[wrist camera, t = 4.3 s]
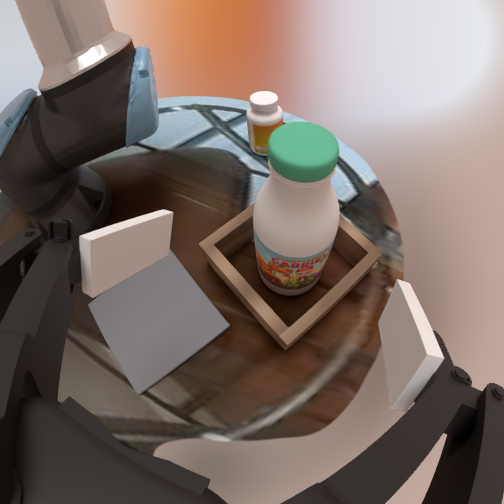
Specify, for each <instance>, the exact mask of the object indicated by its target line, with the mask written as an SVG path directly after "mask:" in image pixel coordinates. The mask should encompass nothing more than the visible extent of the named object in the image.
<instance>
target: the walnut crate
mask: <svg viewBox="0 0 504 504" xmlns="http://www.w3.org/2000/svg"><path fill="white" fill-rule="evenodd" d="M254 204H255V203H254ZM254 204H253V205H251V206H250V207H249V208H247V209H246V210H244V211H243V212H242V213H240V214H239V215H237V216H236V217H235V218H233V219H232V220H230V221H229V222H228V223H226V224H225V225H224V226H222V227H221V228H219V229H218V230H217V231H215V232H214V233H213V234H211V235H210V236H209V237H207V238H206V239H204V240H203V241H202V242H200V243H199V245H200V247H201V249H202V251H203V254H204V256H205V258H206V260H207V262H208V263H209V264H210V266H211V267H212V268H213V269H214V270H215V272H216V273H217V274H218V275H219V276H220V277H221V279H222V280H223V281H224V282H225V283H226V285H227V286H228V287H229V288H230V289H231V290H232V292H233V293H234V294H235V295H236V296H237V297H238V299H239V300H240V301H241V302H242V303H243V304H244V305H245V307H246V308H247V309H248V310H249V311H250V312H251V313H252V315H253V316H254V317H255V318H256V319H257V320H258V321H259V323H260V324H261V325H262V326H263V327H264V328H265V329H266V330H267V332H268V333H269V334H270V335H271V336H272V337H273V338H274V339H275V340H276V342H277V343H278V344H279V345H280V346H281V347H282V348H283V349H284V350H285V351H286V350H287V349H288V348H289V347H290V346H291V345H293V344H294V343H295V342H296V341H297V340H298V339H299V338H301V337H302V336H303V335H304V334H305V333H306V332H307V331H308V330H309V329H311V328H312V327H313V326H314V325H315V324H316V323H317V322H318V321H319V320H320V319H321V318H322V317H324V316H325V315H326V314H327V313H328V312H329V311H330V310H331V309H332V308H333V307H334V306H335V305H336V304H337V303H338V302H339V301H340V300H341V299H342V298H343V297H344V296H345V295H346V294H347V293H348V292H349V291H350V290H351V289H352V288H353V287H354V286H355V285H356V284H357V283H358V282H359V281H360V280H361V279H362V278H363V277H364V276H365V275H366V274H367V273H368V272H369V271H370V269H371V268H372V267H373V266H374V264H375V263H376V262H377V260H378V259H379V258H380V256H381V255H382V253H381V252H380V251H379V250H378V249H377V248H376V247H375V246H374V245H373V244H372V243H371V242H370V241H369V240H368V239H366V238H365V237H364V236H363V235H362V234H361V233H360V232H359V231H358V230H357V229H356V228H354V227H353V226H352V225H351V224H350V223H349V222H348V221H347V220H345V219H344V218H343V217H342V216H341V215H340V214H339V224H338V229H337V233H336V236H335V239H334V242H333V245H332V247H333V248H334V249H335V250H336V251H337V252H338V253H339V254H340V255H341V256H342V257H343V258H344V259H346V260H347V261H348V262H349V263H350V264H351V265H352V266H353V267H354V268H353V269H352V270H351V271H350V272H349V273H348V274H347V275H346V276H345V277H344V278H343V279H342V280H341V281H340V282H338V283H337V284H336V285H335V286H334V287H333V288H332V289H331V290H330V291H329V292H328V293H327V294H326V295H325V296H324V297H323V298H322V299H320V300H319V301H318V302H317V303H316V304H315V305H314V306H313V307H312V308H311V309H310V310H308V311H307V312H306V313H305V314H304V315H303V316H302V317H301V318H299V319H298V320H297V321H296V322H295V323H294V324H293V325H292V326H290V327H289V328H288V327H287V326H286V325H285V324H284V322H283V321H282V320H281V319H280V318H279V317H278V316H277V315H276V314H275V313H274V312H273V310H272V309H271V308H270V307H269V306H268V305H267V304H266V303H265V302H264V301H263V299H262V298H261V297H260V296H259V295H258V294H257V293H256V292H255V291H254V289H253V288H252V287H251V286H250V285H249V284H248V283H247V282H246V281H245V279H244V278H243V277H242V276H241V275H240V274H239V273H238V272H237V270H236V269H235V268H234V267H233V266H232V265H231V264H230V263H229V261H228V260H227V258H229V257H230V256H231V255H233V254H234V253H235V252H236V251H238V250H239V249H240V248H242V247H243V246H244V245H246V244H247V243H248V242H250V241H251V240H252V239H253V238H254V228H253V211H254Z"/></svg>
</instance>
